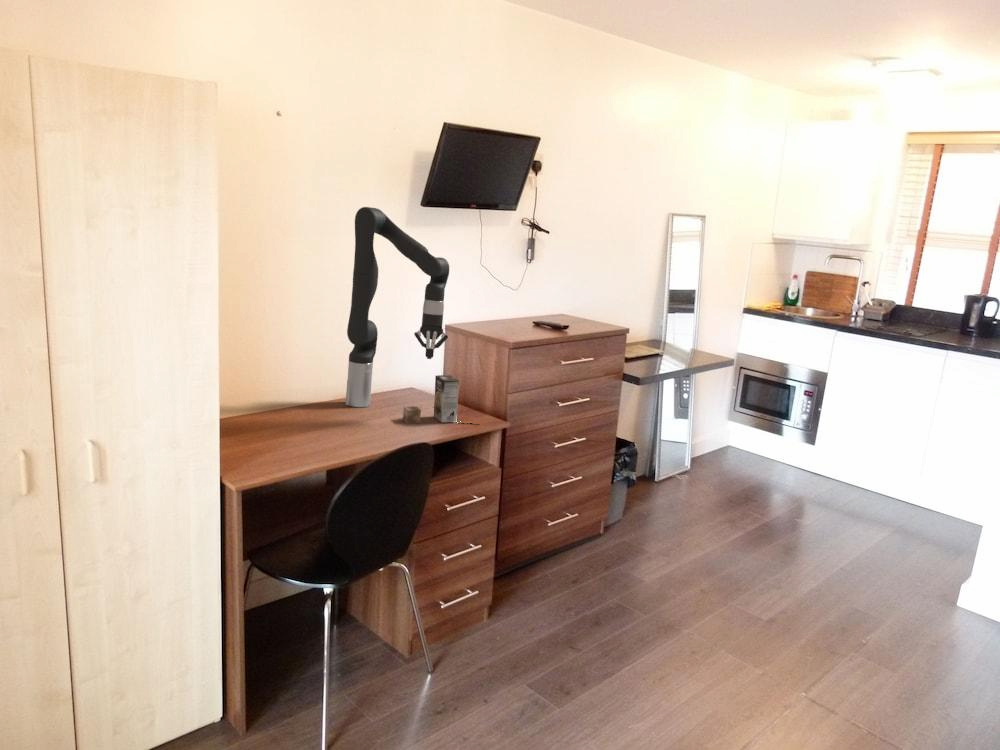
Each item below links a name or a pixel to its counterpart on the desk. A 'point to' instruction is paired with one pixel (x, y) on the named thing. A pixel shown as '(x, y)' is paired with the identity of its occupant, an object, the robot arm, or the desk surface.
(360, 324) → the robot arm
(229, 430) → the desk surface
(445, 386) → the coffee box
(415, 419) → the walnut block
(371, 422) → the desk surface
